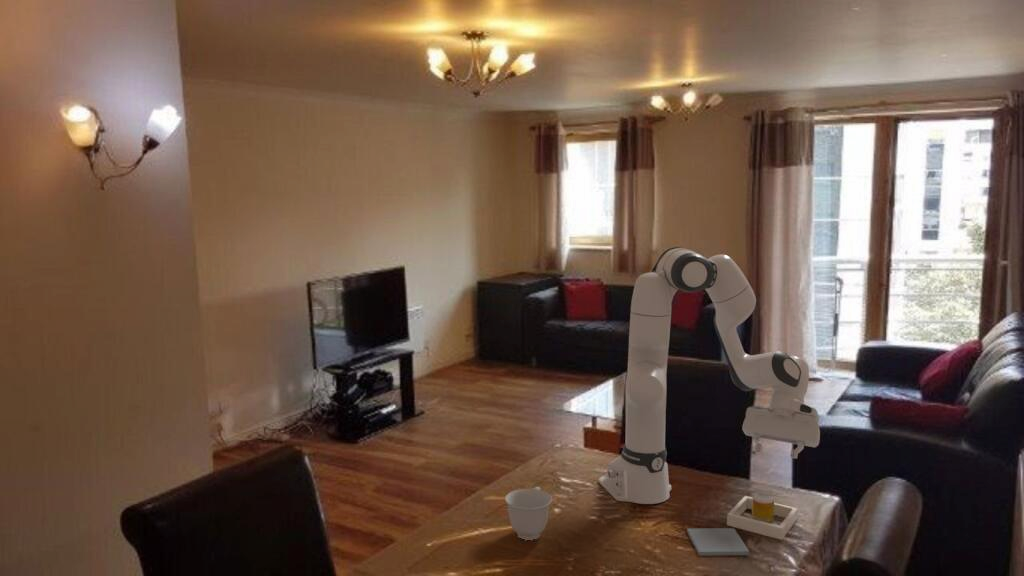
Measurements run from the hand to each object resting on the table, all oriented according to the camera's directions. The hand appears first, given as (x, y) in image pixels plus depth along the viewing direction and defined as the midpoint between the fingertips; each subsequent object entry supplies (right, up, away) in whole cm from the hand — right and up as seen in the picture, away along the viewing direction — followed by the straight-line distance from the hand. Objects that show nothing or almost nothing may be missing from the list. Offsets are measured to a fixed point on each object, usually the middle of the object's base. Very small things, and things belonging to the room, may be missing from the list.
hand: (775, 453), depth 203 cm
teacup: (-67, -17, -13) cm, 71 cm away
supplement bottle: (-6, -16, -8) cm, 19 cm away
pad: (-21, -18, -19) cm, 34 cm away
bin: (-6, -16, -8) cm, 19 cm away
